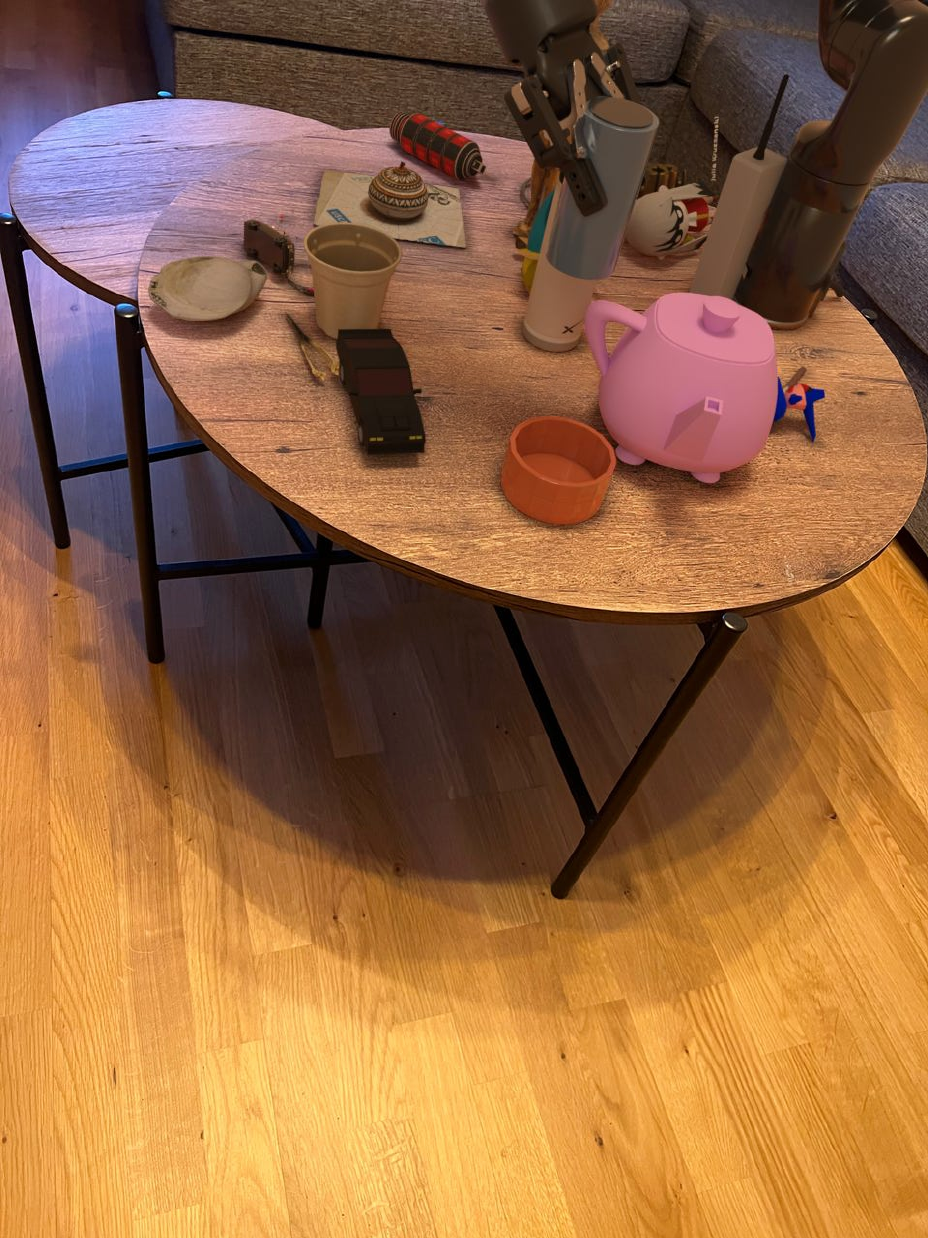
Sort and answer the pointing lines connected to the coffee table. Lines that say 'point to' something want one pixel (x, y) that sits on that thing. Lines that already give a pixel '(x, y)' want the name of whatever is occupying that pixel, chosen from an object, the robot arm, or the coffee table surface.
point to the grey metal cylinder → (620, 162)
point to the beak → (320, 350)
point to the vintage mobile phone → (739, 214)
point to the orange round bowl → (557, 469)
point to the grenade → (437, 145)
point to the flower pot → (350, 274)
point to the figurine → (798, 403)
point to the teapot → (686, 382)
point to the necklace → (308, 289)
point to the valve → (662, 178)
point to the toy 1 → (533, 242)
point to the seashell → (206, 287)
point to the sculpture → (547, 178)
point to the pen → (795, 378)
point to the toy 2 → (671, 218)
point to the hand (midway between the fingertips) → (617, 198)
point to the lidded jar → (393, 205)
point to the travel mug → (555, 299)
